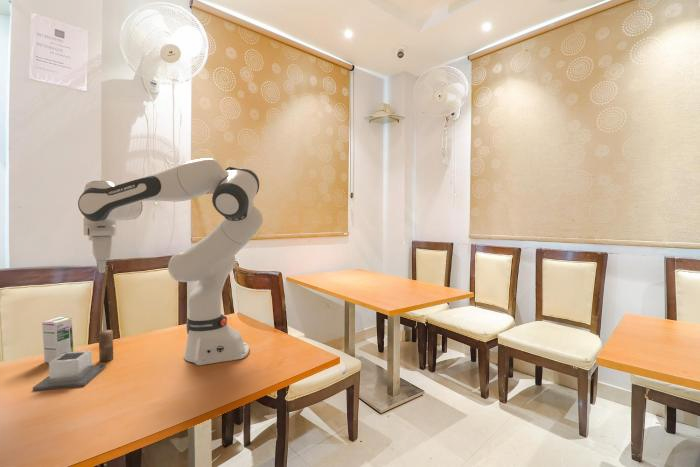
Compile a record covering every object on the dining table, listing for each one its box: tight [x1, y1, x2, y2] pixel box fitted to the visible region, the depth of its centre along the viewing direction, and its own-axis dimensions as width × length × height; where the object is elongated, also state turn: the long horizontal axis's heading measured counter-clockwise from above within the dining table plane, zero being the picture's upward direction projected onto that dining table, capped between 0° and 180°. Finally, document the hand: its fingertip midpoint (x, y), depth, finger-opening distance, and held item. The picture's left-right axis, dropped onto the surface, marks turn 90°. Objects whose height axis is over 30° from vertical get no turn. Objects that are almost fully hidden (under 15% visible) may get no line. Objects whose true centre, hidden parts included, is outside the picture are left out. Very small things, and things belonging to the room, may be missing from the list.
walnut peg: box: [98, 329, 114, 363], centre depth 119 cm, size 4×4×10 cm
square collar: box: [32, 350, 106, 392], centre depth 106 cm, size 13×13×7 cm
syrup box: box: [41, 316, 74, 364], centre depth 119 cm, size 6×6×14 cm
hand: (101, 270), depth 115 cm, fingers open, 8 cm apart
